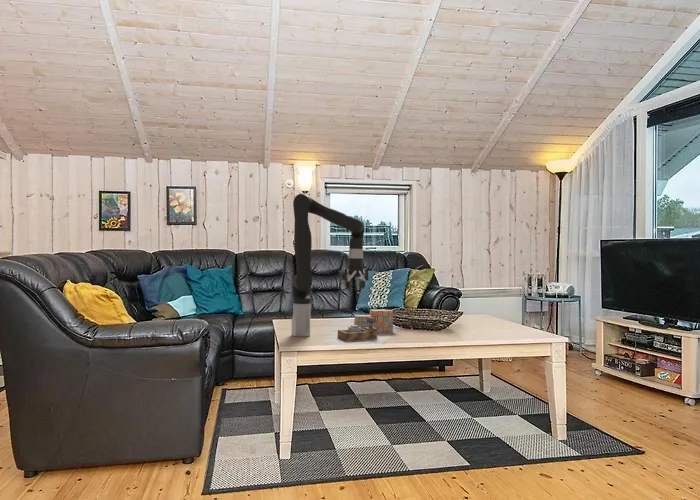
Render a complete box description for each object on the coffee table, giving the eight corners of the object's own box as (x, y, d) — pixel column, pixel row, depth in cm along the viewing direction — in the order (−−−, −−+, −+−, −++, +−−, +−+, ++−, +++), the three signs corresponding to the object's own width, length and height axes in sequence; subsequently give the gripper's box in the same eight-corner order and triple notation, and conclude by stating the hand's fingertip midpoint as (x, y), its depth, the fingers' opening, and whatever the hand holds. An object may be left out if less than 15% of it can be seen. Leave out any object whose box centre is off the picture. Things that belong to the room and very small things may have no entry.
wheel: (369, 322, 262) (369, 317, 262) (364, 321, 266) (365, 316, 266) (376, 322, 264) (376, 317, 264) (372, 321, 268) (372, 316, 268)
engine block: (352, 339, 257) (352, 326, 257) (348, 338, 262) (348, 325, 262) (361, 339, 259) (361, 326, 259) (356, 337, 264) (356, 324, 264)
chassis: (346, 341, 252) (347, 325, 252) (337, 337, 262) (338, 322, 262) (379, 338, 262) (379, 323, 262) (369, 335, 271) (370, 320, 271)
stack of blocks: (356, 333, 279) (357, 311, 279) (354, 331, 285) (354, 309, 285) (393, 332, 284) (393, 310, 284) (389, 330, 290) (389, 309, 290)
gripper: (347, 257, 254) (346, 289, 254) (371, 257, 260) (370, 288, 260) (340, 257, 260) (339, 288, 260) (364, 257, 267) (363, 287, 267)
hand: (355, 288), depth 260 cm, fingers open, 8 cm apart
